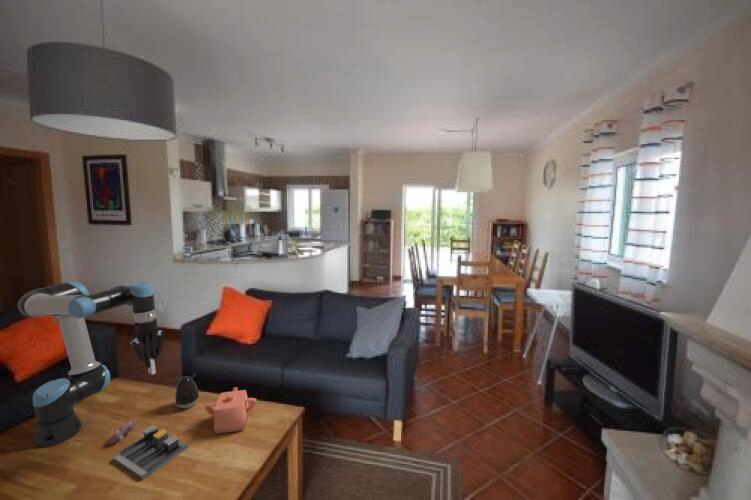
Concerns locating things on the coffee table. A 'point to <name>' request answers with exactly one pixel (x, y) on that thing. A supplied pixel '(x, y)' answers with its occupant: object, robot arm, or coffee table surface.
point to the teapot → (231, 411)
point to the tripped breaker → (160, 438)
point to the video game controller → (122, 432)
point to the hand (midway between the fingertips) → (152, 373)
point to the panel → (149, 453)
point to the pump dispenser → (186, 392)
